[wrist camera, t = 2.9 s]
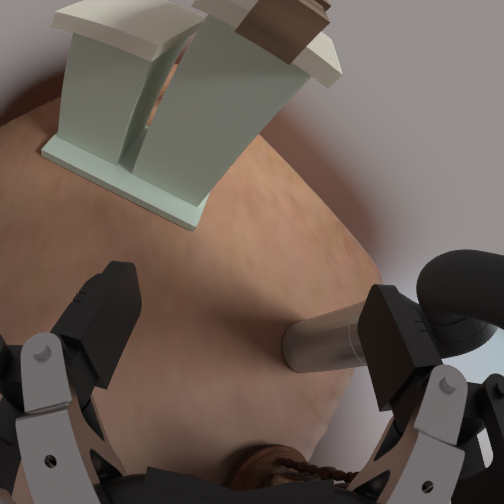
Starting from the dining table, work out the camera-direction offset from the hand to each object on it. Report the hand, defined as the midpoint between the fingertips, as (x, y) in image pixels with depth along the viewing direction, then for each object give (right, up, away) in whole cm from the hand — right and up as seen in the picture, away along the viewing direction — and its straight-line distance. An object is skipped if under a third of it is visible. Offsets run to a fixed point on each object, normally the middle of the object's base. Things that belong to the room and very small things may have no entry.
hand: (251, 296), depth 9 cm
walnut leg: (+2, +21, +9) cm, 23 cm away
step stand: (-20, +17, +33) cm, 42 cm away
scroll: (+2, -35, +24) cm, 42 cm away
